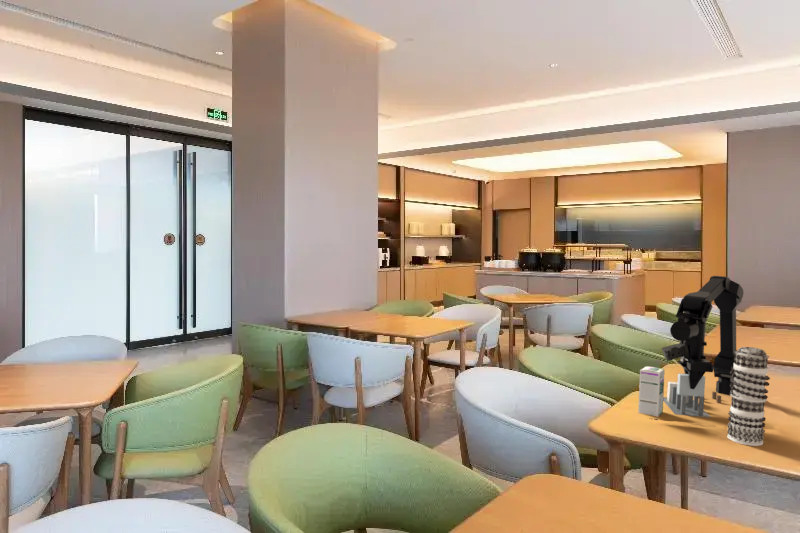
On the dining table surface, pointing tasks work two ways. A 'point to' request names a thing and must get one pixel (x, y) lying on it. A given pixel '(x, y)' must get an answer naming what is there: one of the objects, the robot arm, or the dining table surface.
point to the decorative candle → (748, 396)
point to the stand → (715, 397)
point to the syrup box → (651, 391)
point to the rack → (686, 404)
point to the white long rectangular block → (684, 386)
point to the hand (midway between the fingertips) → (690, 387)
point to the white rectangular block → (669, 392)
